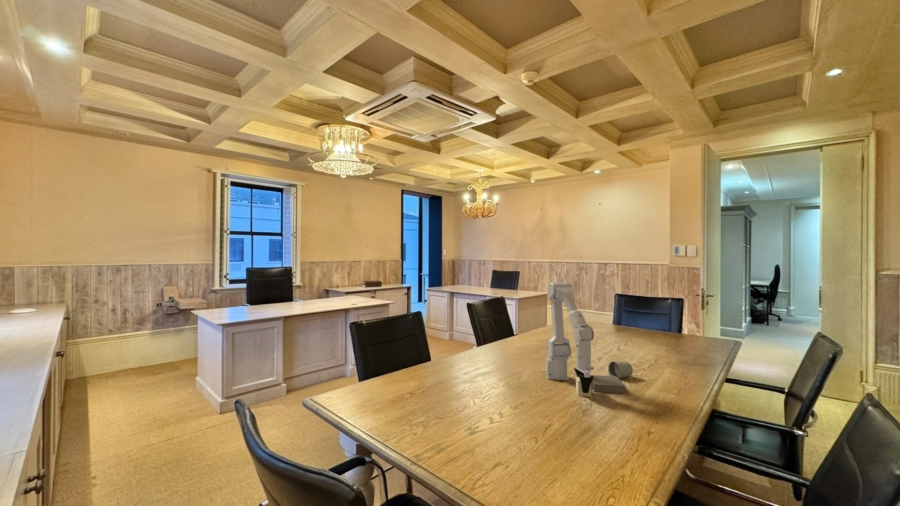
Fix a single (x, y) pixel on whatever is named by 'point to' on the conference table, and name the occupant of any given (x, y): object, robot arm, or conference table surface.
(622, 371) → the ceramic mug
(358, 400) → the conference table surface
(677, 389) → the conference table surface
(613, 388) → the gray plinth
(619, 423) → the conference table surface
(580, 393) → the cream block
